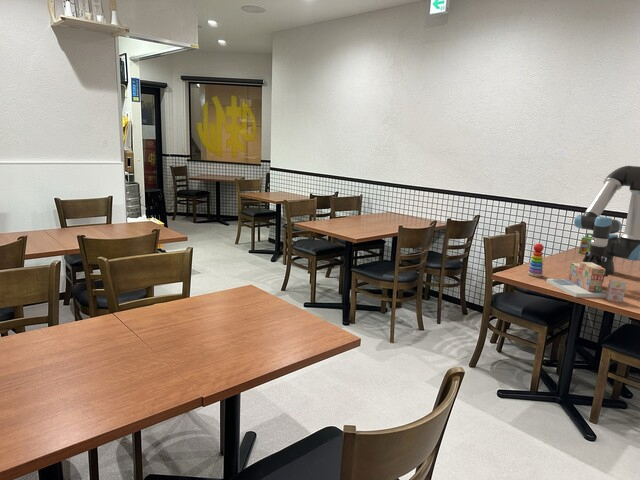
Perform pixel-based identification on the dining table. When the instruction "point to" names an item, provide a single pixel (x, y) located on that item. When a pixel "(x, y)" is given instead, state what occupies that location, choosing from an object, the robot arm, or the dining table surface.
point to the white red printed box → (615, 291)
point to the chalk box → (585, 244)
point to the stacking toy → (536, 261)
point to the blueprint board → (574, 288)
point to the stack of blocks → (587, 275)
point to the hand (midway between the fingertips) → (590, 284)
